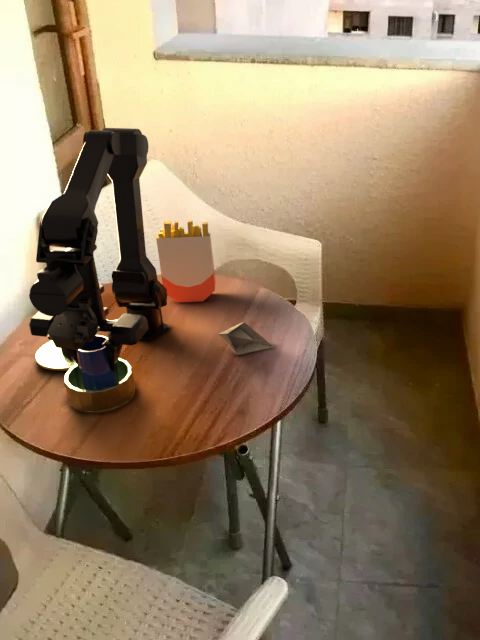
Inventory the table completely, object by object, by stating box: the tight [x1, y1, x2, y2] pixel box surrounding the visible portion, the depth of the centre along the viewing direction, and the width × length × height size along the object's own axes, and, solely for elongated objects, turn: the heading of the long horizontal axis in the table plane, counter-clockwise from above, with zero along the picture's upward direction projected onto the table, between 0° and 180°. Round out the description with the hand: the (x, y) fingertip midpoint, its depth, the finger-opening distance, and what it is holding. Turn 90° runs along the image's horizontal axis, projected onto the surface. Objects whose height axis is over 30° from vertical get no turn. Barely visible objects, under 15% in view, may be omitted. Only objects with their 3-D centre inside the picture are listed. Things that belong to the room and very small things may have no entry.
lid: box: [35, 340, 76, 372], centre depth 137 cm, size 12×12×5 cm
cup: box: [76, 334, 118, 390], centre depth 124 cm, size 6×6×10 cm
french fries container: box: [155, 220, 216, 303], centre depth 153 cm, size 5×11×18 cm, turn 95°
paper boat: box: [218, 321, 274, 356], centre depth 137 cm, size 12×6×9 cm
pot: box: [63, 357, 136, 415], centre depth 126 cm, size 11×11×4 cm
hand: (97, 368), depth 124 cm, fingers closed on cup, 6 cm apart
